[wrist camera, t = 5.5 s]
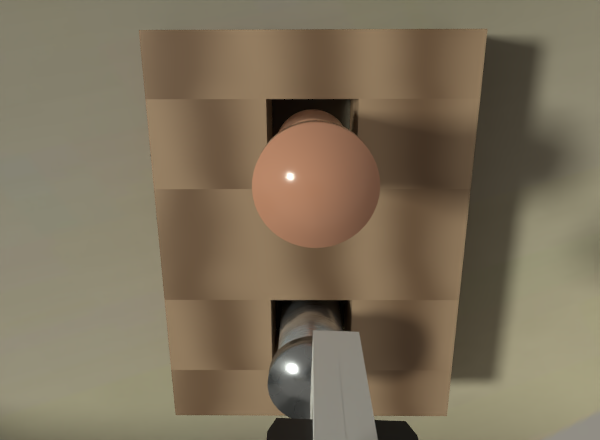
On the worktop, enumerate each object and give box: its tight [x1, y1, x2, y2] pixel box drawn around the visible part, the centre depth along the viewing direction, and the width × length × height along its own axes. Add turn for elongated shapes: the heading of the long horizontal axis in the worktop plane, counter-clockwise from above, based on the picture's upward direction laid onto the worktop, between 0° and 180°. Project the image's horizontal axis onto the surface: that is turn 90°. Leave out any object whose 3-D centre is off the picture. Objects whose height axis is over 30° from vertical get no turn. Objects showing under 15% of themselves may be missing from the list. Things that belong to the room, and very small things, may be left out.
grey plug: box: [268, 300, 343, 419], centre depth 31 cm, size 5×5×9 cm
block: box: [139, 29, 487, 416], centre depth 32 cm, size 18×24×5 cm
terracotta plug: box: [252, 109, 380, 248], centre depth 23 cm, size 5×5×9 cm
